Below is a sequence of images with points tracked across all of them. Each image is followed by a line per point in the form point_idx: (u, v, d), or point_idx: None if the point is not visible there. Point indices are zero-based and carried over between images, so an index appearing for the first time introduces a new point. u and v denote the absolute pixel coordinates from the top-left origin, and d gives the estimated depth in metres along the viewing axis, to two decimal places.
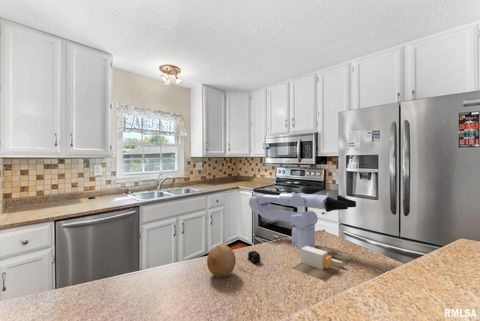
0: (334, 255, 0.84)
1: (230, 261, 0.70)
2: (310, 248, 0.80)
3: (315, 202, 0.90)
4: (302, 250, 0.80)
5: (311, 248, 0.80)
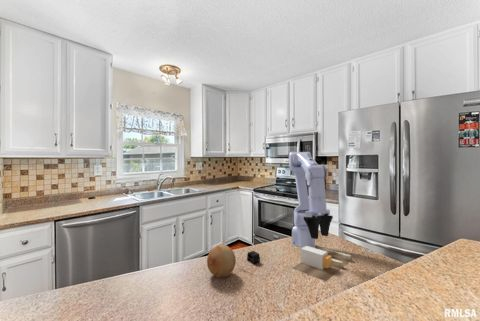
0: (334, 255, 0.84)
1: (230, 261, 0.70)
2: (310, 248, 0.80)
3: (313, 199, 0.78)
4: (302, 250, 0.80)
5: (311, 248, 0.80)
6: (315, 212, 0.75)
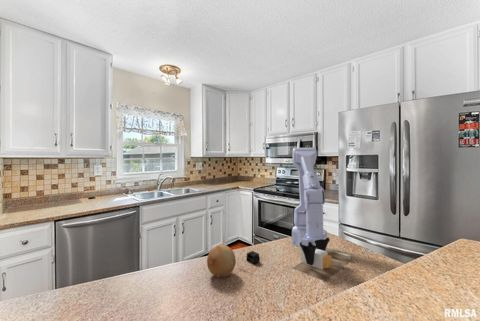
0: (334, 255, 0.84)
1: (230, 261, 0.70)
2: None
3: (310, 225, 0.76)
4: (302, 250, 0.80)
5: None
6: (311, 240, 0.74)
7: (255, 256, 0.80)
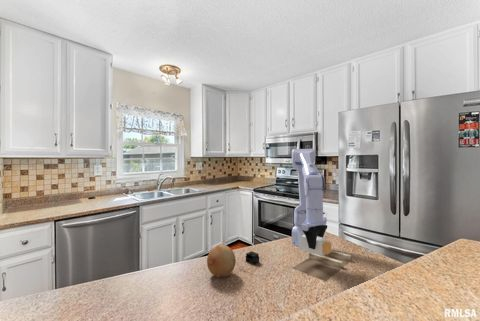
0: (334, 255, 0.84)
1: (230, 261, 0.70)
2: None
3: (310, 211, 0.76)
4: (302, 237, 0.80)
5: None
6: (311, 225, 0.74)
7: (255, 256, 0.80)
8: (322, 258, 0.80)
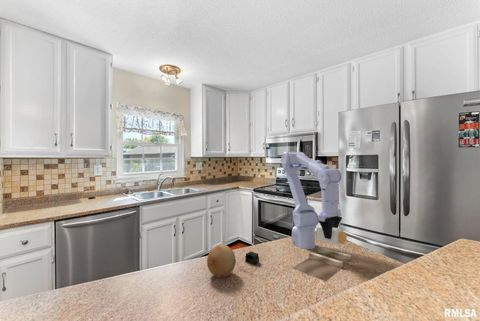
0: (334, 255, 0.84)
1: (230, 261, 0.70)
2: None
3: (326, 202, 0.80)
4: (318, 228, 0.84)
5: None
6: (328, 216, 0.78)
7: (255, 256, 0.79)
8: (322, 258, 0.80)
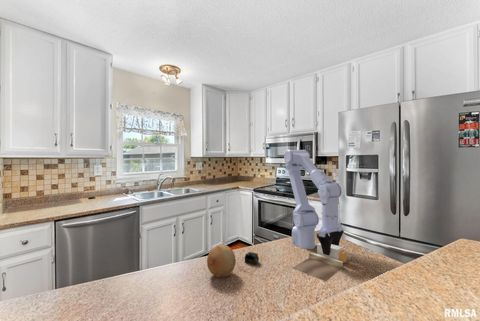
0: None
1: (230, 261, 0.70)
2: None
3: (326, 217, 0.80)
4: (318, 246, 0.84)
5: None
6: (328, 231, 0.78)
7: (255, 256, 0.79)
8: (322, 258, 0.80)
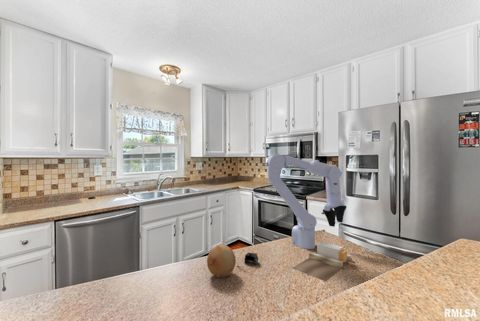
0: None
1: (230, 261, 0.70)
2: (326, 244, 0.84)
3: (330, 195, 0.95)
4: (318, 246, 0.84)
5: (327, 243, 0.84)
6: (332, 206, 0.92)
7: (255, 256, 0.79)
8: (322, 258, 0.80)
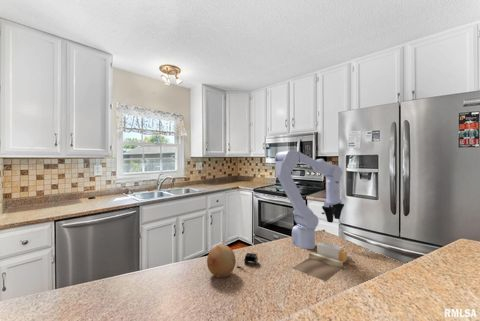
0: None
1: (230, 261, 0.70)
2: (326, 244, 0.84)
3: (330, 192, 1.00)
4: (318, 246, 0.84)
5: (327, 243, 0.84)
6: (331, 203, 0.97)
7: (255, 257, 0.79)
8: (322, 258, 0.80)
